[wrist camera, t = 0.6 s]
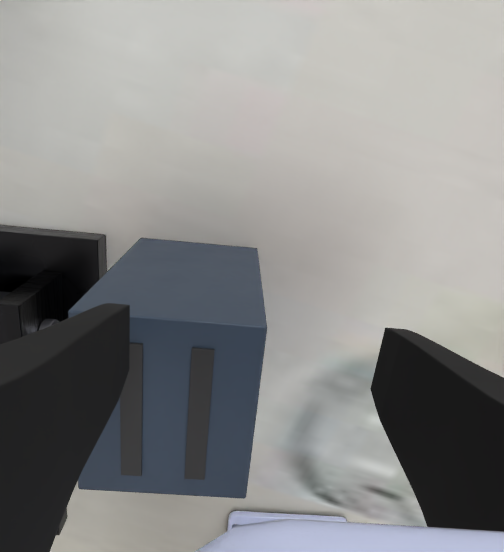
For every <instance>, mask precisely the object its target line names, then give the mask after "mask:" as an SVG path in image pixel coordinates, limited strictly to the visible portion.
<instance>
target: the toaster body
mask: <svg viewBox="0 0 504 552" xmlns="http://www.w3.org/2000/svg"><path fill="white" fill-rule="evenodd" d="M105 303H115V304H126V305H130V352H129V372H128V375H127V378H126V381H125V384H124V387H123V390H122V392H121V395H120V398H119V400H118V402H117V404H116V406H115V408H114V410H113V412H112V414H111V416H110V418H109V420H108V422H107V424H106V426H105V428H104V430H103V432H102V434H101V435H100V437H99V439H98V441H97V443H96V445H95V447H94V449H93V451H92V453H91V455H90V457H89V458H88V460H87V462H86V464H85V466H84V468H83V470H82V472H81V474H80V476H79V479H78V487H79V489H87V490H105V491H122V492H140V493H157V494H175V495H193V496H210V497H228V498H245V497H246V493H247V485H248V477H249V469H250V461H251V453H252V445H253V437H254V429H255V420H256V412H257V404H258V396H259V388H260V380H261V372H262V364H263V356H264V348H265V340H266V332H267V324H266V315H265V307H264V299H263V291H262V283H261V275H260V267H259V259H258V251H257V248H248V247H236V246H225V245H214V244H203V243H192V242H181V241H170V240H159V239H148V238H140V239H139V240H138V241H137V242H136V243H135V244H134V245H133V246H132V247H131V248H130V249H129V250H128V251H127V252H126V253H125V255H124V256H123V257H122V258H121V259H120V260H119V261H118V262H117V263H116V264H115V265H114V266H113V267H112V268H111V269H110V270H109V271H108V272H107V273H106V274H105V275H104V276H103V277H102V278H101V279H100V280H99V281H98V282H97V283H96V284H95V285H94V286H93V287H92V288H91V289H90V290H89V291H88V292H87V293H86V294H85V295H84V296H83V297H82V298H81V299H80V300H79V301H78V302H77V303H76V304H75V305H74V306H73V307H72V308H71V309H70V310H69V311H68V316H69V318H70V317H73V316H75V315H77V314H79V313H82V312H84V311H86V310H89V309H91V308H93V307H96V306H99V305H101V304H105Z"/></svg>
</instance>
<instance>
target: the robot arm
mask: <svg viewBox="0 0 504 552" xmlns="http://www.w3.org/2000/svg"><path fill="white" fill-rule="evenodd" d="M129 352H130V305H126V304H115V303H105V304H101V305H99V306H96V307H93V308H91V309H89V310H86V311H84V312H82V313H79V314H77V315H75V316H73V317H70V318H68V319H66V320H63V321H61V322H59V323H56V324H54V325H52V326H49V327H46V328H44V329H41V330H39V331H36V332H34V333H31V334H28V335H26V336H23V337H21V338H18V339H15V340H12V341H9V342H6V343H3V344H0V552H50V549H51V546H52V544H53V541H54V538H55V536H56V533H57V530H58V528H59V525H60V523H61V520H62V517H63V515H64V512H65V510H66V507H67V505H68V502H69V500H70V497H71V495H72V492H73V490H74V487H75V485H76V483H77V481H78V479H79V476H80V474H81V472H82V470H83V468H84V466H85V464H86V462H87V460H88V458H89V457H90V455H91V453H92V451H93V449H94V447H95V445H96V443H97V441H98V439H99V437H100V435H101V434H102V432H103V430H104V428H105V426H106V424H107V422H108V420H109V418H110V416H111V414H112V412H113V410H114V408H115V406H116V404H117V402H118V400H119V398H120V395H121V392H122V390H123V387H124V384H125V381H126V378H127V375H128V372H129ZM371 392H372V395H373V399H374V402H375V406H376V409H377V412H378V415H379V418H380V421H381V423H382V425H383V428H384V430H385V432H386V434H387V436H388V438H389V441H390V443H391V445H392V447H393V449H394V451H395V453H396V455H397V457H398V459H399V462H400V464H401V466H402V468H403V470H404V472H405V474H406V476H407V478H408V480H409V482H410V485H411V487H412V489H413V491H414V493H415V495H416V498H417V500H418V502H419V505H420V507H421V510H422V512H423V515H424V518H425V521H426V524H427V526H428V527H420V526H404V525H388V524H371V523H355V522H347V520H346V519H345V518H344V517H338V516H320V515H302V514H284V513H266V512H248V511H233V512H231V513H230V514H229V519H228V528H227V532H226V533H224V534H222V535H221V536H219V537H217V538H216V539H214V540H213V541H211V542H209V543H208V544H206V545H205V546H203V547H201V548H200V549H198V550H196V551H195V552H504V378H503V377H501V376H499V375H497V374H495V373H493V372H491V371H488V370H486V369H484V368H483V367H481V366H479V365H477V364H475V363H473V362H471V361H469V360H467V359H465V358H463V357H461V356H460V355H458V354H456V353H454V352H452V351H450V350H448V349H447V348H445V347H443V346H441V345H439V344H437V343H435V342H433V341H431V340H429V339H427V338H425V337H423V336H421V335H419V334H417V333H415V332H412V331H409V330H405V329H394V328H385V332H384V336H383V340H382V344H381V348H380V352H379V357H378V361H377V365H376V369H375V373H374V377H373V381H372V386H371Z"/></svg>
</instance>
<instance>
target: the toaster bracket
mask: <svg viewBox="0 0 504 552" xmlns="http://www.w3.org/2000/svg"><path fill="white" fill-rule="evenodd" d="M105 274H106V236H105V235H104V234H94V233H83V232H72V231H61V230H50V229H39V228H27V227H16V226H5V225H0V292H10V293H9V294H7V295H6V296H4V297H3V298H1V299H0V344H3V343H6V342H9V341H12V340H15V339H18V338H21V337H23V336H26V335H28V334H31V333H34V332H36V331H39V330H41V329H44V328H46V327H49V326H52V325H54V324H56V323H59V322H61V321H63V320H66V319H68V318H69V316H68V311H69V310H70V309H71V308H72V307H73V306H74V305H75V304H76V303H77V302H78V301H79V300H80V299H81V298H82V297H83V296H84V295H85V294H86V293H87V292H88V291H89V290H90V289H91V288H92V287H93V286H94V285H95V284H96V283H97V282H98V281H99V280H100V279H101V278H102V277H103V276H104V275H105Z"/></svg>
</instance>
